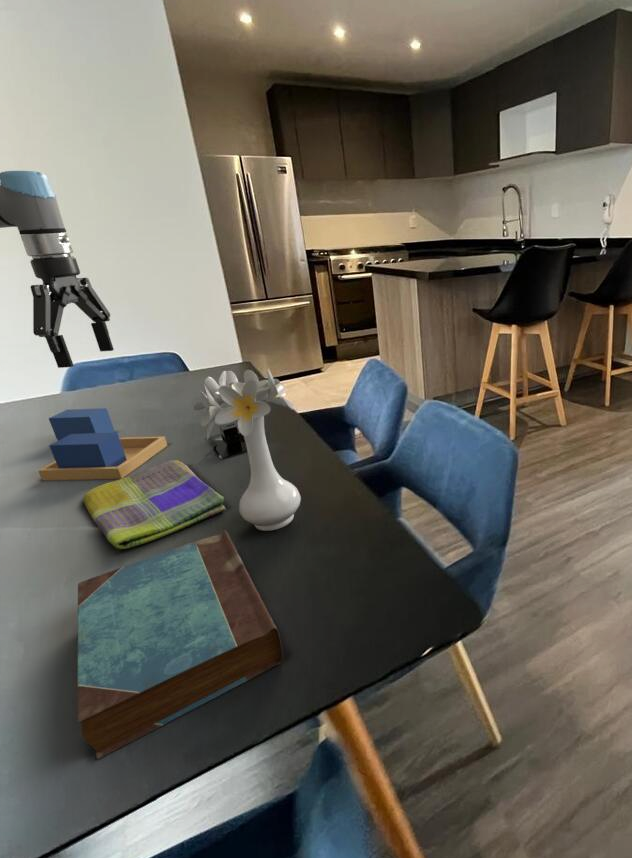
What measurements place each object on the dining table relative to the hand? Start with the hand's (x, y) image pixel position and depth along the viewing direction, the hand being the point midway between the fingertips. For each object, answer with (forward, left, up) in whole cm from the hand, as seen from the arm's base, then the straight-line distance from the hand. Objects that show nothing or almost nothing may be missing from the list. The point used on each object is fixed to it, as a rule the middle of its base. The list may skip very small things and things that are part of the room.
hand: (87, 358), depth 108 cm
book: (+51, -59, -20) cm, 80 cm away
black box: (+31, -5, -20) cm, 37 cm away
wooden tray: (+8, -13, -20) cm, 25 cm away
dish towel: (+29, -30, -20) cm, 46 cm away
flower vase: (+52, -35, -20) cm, 65 cm away
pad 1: (-7, 0, -20) cm, 21 cm away
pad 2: (+8, -16, -19) cm, 26 cm away
